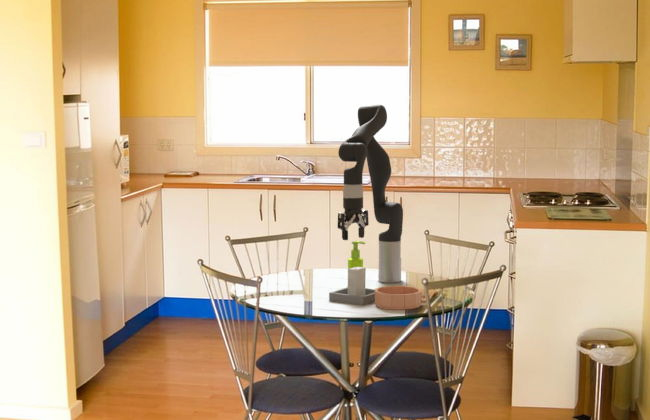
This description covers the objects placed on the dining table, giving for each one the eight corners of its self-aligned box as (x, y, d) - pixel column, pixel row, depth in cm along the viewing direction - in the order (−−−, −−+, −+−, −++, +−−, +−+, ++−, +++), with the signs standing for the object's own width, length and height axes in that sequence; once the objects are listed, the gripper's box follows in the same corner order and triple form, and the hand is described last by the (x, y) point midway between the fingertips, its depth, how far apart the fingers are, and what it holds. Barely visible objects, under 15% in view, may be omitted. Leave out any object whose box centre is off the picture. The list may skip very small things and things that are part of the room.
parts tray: (350, 293, 367) (350, 286, 367) (383, 298, 359) (383, 290, 359) (329, 300, 355) (329, 292, 355) (363, 305, 347) (363, 297, 346)
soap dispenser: (364, 293, 369) (364, 242, 366) (346, 292, 370) (346, 242, 368) (366, 290, 374) (366, 240, 372) (349, 289, 376) (349, 240, 373)
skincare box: (356, 297, 361) (356, 266, 359) (366, 298, 358) (366, 267, 356) (346, 299, 356) (346, 268, 355) (356, 301, 353) (356, 269, 352)
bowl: (389, 298, 359) (389, 284, 358) (429, 303, 349) (429, 288, 349) (366, 306, 345) (366, 291, 344) (406, 311, 335) (407, 296, 335)
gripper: (359, 194, 360) (359, 235, 362) (332, 196, 350) (332, 239, 352) (373, 195, 354) (373, 237, 356) (346, 198, 345) (346, 241, 346)
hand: (353, 238), depth 354 cm, fingers open, 8 cm apart
